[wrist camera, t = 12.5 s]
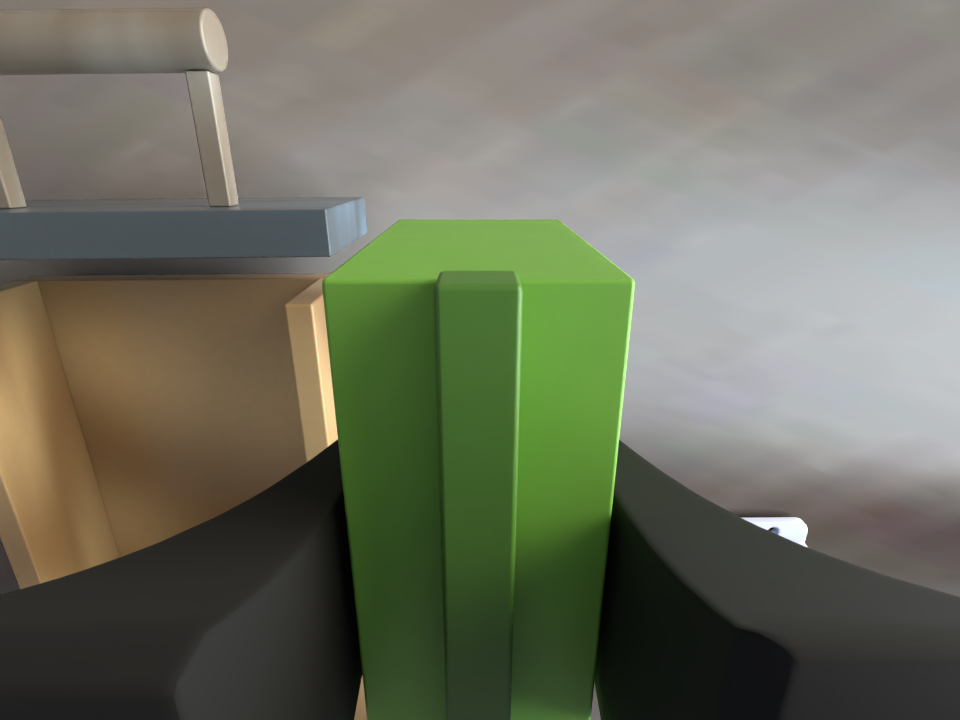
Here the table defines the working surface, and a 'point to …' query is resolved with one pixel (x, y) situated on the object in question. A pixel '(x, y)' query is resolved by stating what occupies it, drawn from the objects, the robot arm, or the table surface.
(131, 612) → the robot arm
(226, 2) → the table surface
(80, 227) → the drawer
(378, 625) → the green ridged box
